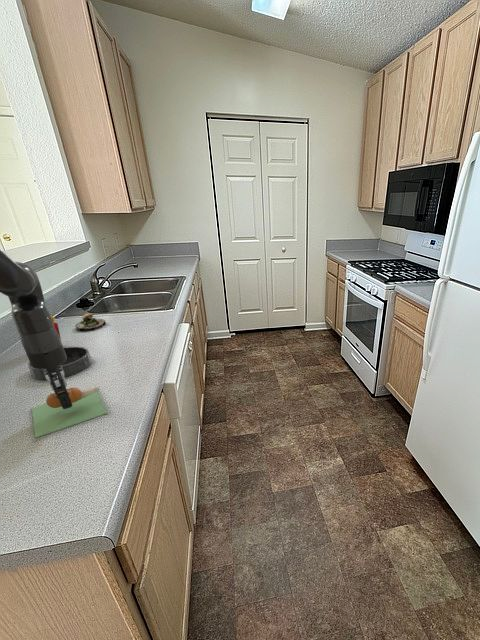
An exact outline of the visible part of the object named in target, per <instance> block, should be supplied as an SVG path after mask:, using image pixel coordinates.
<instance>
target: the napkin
mask: <svg viewBox="0 0 480 640" xmlns="http://www.w3.org/2000/svg"><path fill="white" fill-rule="evenodd" d="M31 414H32V423H33V430H34V437H35V439H38V438H40V437H43V436H46V435H50V434H52V433H55V432H59V431H61V430H63V429H66V428H69V427H73V426H76V425H79V424H81V423H84V422H87V421H90V420H93V419H95V418H98V417H99V418H100V417H101V416H104V415H107V414H108V410H107V409H106V407H105V404H104V402H103V400H102V398H101V395H100V394H99V391H98V392H96V393H94V394H91V395H89V396H87V397H85V398H83V399H80V400H78V401H77V402H74V403H72V407H70V408H67V409H63V408H62V407H58V408H52V407H50V406H48V405H47V403H45V404H41V405H38V406H35V407H32V408H31Z"/></svg>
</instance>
